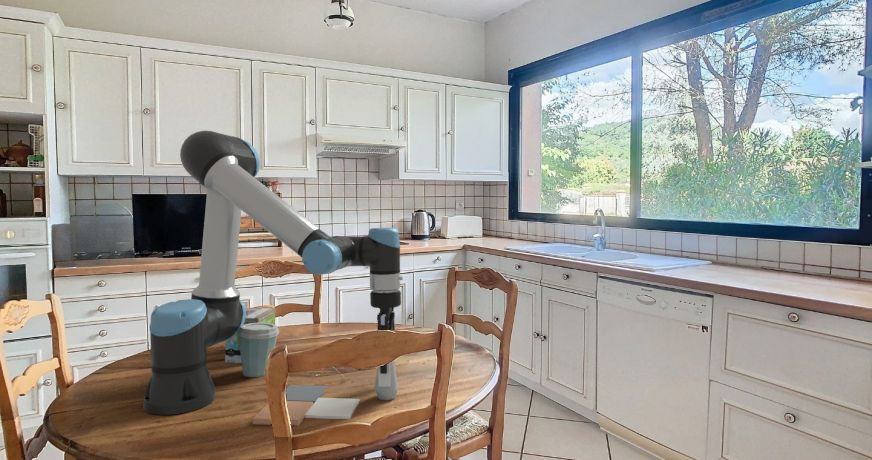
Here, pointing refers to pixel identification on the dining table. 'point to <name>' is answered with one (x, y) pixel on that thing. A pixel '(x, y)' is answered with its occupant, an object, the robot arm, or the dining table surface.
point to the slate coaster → (304, 393)
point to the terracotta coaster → (295, 411)
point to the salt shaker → (387, 391)
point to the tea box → (251, 317)
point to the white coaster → (332, 408)
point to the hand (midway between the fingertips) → (387, 377)
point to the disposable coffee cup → (256, 347)
